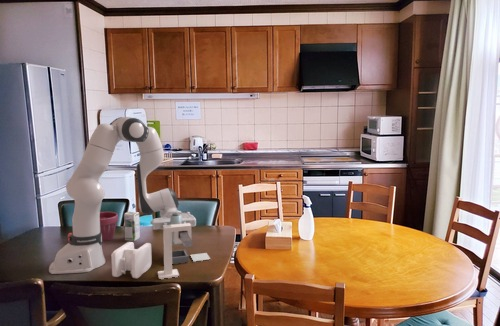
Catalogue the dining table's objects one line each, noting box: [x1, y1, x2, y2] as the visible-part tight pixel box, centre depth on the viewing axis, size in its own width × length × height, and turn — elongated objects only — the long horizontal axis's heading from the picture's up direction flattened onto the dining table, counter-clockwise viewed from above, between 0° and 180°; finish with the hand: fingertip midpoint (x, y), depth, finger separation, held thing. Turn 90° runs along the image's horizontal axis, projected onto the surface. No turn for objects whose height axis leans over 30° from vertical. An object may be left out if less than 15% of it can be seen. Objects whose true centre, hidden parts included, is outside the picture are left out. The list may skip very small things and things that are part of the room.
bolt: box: [178, 223, 193, 248], centre depth 152 cm, size 4×21×4 cm, turn 20°
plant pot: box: [100, 211, 119, 242], centre depth 199 cm, size 14×14×13 cm
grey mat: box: [189, 252, 211, 263], centre depth 174 cm, size 8×8×1 cm
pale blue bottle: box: [170, 213, 182, 246], centre depth 169 cm, size 5×5×14 cm
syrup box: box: [123, 211, 141, 242], centre depth 198 cm, size 6×6×14 cm
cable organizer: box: [110, 241, 153, 279], centre depth 156 cm, size 15×11×12 cm
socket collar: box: [172, 248, 190, 265], centre depth 171 cm, size 9×9×3 cm
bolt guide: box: [157, 223, 193, 280], centre depth 155 cm, size 14×6×21 cm, turn 110°
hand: (176, 227), depth 168 cm, fingers closed on pale blue bottle, 5 cm apart
